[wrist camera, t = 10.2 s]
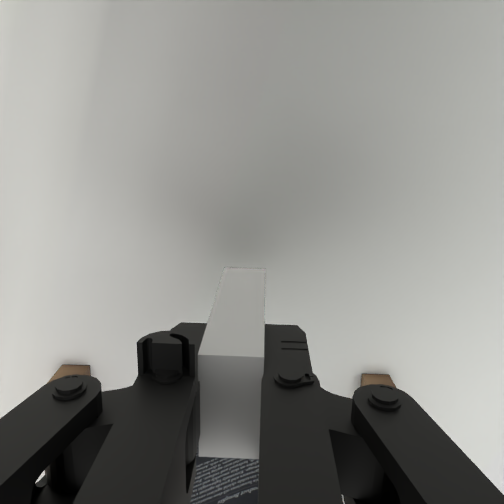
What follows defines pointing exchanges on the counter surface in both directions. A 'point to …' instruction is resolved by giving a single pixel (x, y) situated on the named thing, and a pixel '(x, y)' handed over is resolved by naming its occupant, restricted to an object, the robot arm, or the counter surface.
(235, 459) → the small box
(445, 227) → the counter surface
